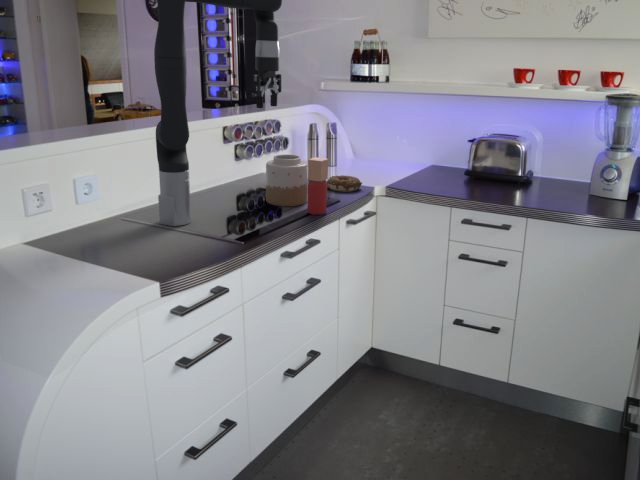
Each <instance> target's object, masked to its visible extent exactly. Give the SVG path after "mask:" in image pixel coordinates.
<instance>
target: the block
mask: <svg viewBox="0 0 640 480" xmlns="http://www.w3.org/2000/svg"><path fill="white" fill-rule="evenodd" d="M307 164H308V180H307V181H310V180H313V181H320V182H321V181H324V180H326V181H327V180H328V179H329V178H328V177H329V174H328V173H329V158H326V157H311V158H309V159H308V161H307Z"/></svg>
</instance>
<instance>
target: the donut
mask: <svg viewBox="0 0 640 480" xmlns="http://www.w3.org/2000/svg"><path fill="white" fill-rule="evenodd" d="M326 183H327V188H329V189H330V190H331V191H336V192H345V193H346V192H347V193H349V192H354V191H358V189H361V186H362V185H363V182H361V180H360V179H359V178H358V177H355V176H353V175H343V174H342V175H332V176H329V178H328V179H327V180H326Z"/></svg>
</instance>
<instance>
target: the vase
mask: <svg viewBox="0 0 640 480" xmlns="http://www.w3.org/2000/svg"><path fill="white" fill-rule="evenodd" d="M308 181H309V180H308V162H307V161H304V160H302V159H301V156H300V155H297V154H296V155H295V154H277V155H274V156H273V159H271V160H268V161H267V162H266V163H265V200H266V202H267V203H268V204H269V205H273V206H278V207H297V206H302V205H305V204H306V203H308Z"/></svg>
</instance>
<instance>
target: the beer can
mask: <svg viewBox="0 0 640 480" xmlns="http://www.w3.org/2000/svg"><path fill="white" fill-rule="evenodd" d="M308 181H309V182H308V183H307V212H308V214H310V215H313V216H322V215H324V214H326V213H327V201H328V199H327V198H328V186H327V179H326V180H324V181H321V182H320V181H313V180H308Z"/></svg>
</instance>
